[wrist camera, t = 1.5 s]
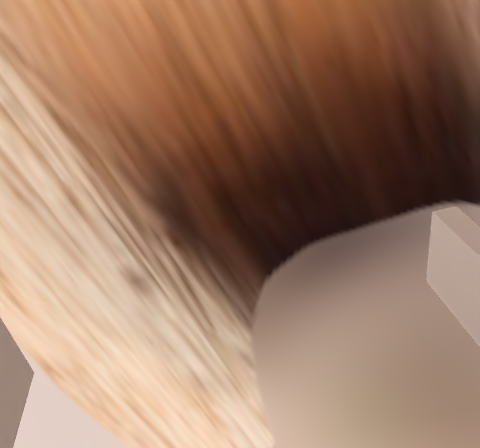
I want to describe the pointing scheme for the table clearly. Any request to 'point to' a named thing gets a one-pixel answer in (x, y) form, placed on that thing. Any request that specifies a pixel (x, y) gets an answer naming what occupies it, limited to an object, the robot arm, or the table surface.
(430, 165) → the table surface
